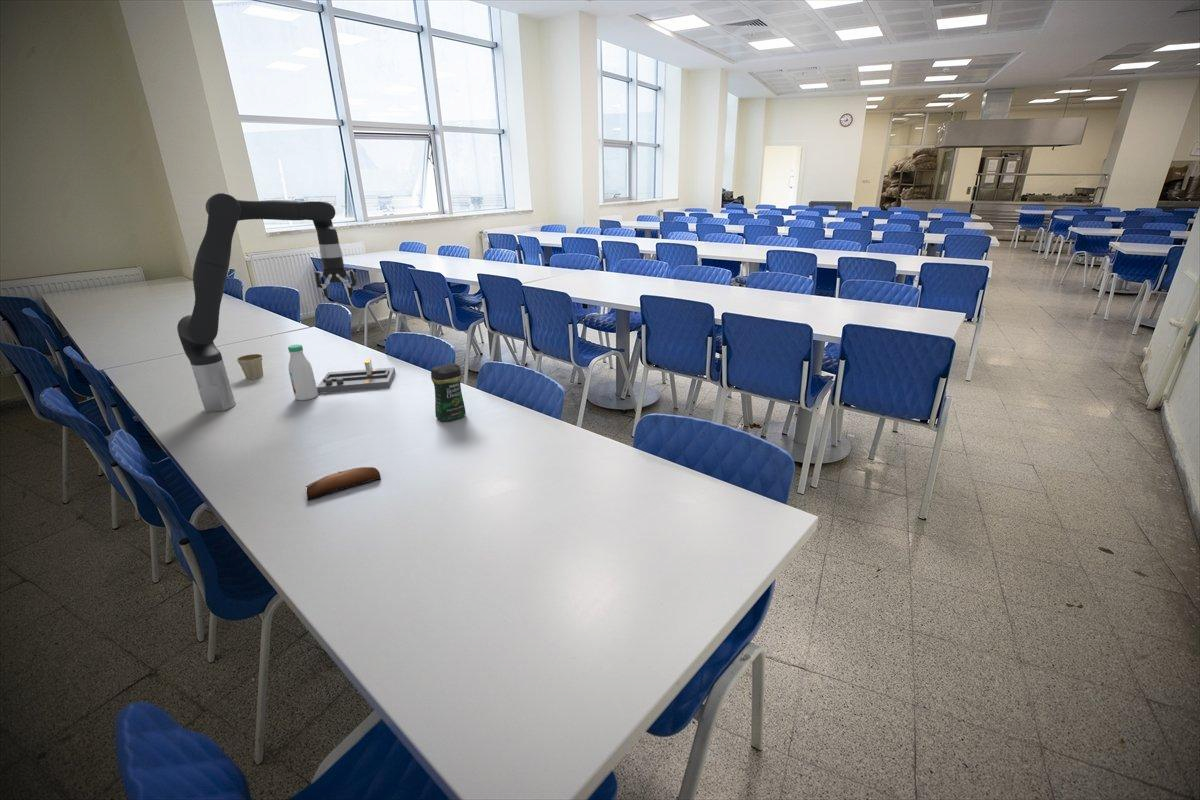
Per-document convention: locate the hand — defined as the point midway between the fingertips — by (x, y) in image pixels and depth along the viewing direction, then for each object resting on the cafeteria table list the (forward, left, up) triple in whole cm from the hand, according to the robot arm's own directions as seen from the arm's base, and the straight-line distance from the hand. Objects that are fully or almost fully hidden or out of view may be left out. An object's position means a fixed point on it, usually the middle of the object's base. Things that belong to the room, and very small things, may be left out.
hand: (339, 297), depth 214 cm
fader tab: (-13, -9, -29) cm, 33 cm away
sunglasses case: (-96, -15, -33) cm, 102 cm away
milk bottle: (-25, +12, -32) cm, 43 cm away
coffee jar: (-57, -42, -32) cm, 78 cm away
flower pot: (+5, +40, -32) cm, 52 cm away
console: (-13, -4, -32) cm, 35 cm away
